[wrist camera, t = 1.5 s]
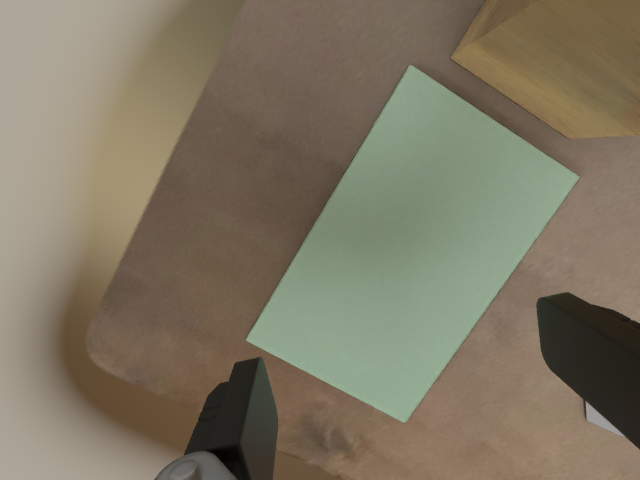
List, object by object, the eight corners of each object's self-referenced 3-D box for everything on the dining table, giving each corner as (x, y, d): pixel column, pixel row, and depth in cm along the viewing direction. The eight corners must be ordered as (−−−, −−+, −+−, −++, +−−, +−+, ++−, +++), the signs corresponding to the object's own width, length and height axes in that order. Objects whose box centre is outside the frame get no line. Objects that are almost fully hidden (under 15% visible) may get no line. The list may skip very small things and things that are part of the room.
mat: (403, 418, 32) (405, 423, 31) (246, 336, 30) (245, 340, 29) (574, 176, 28) (580, 176, 28) (408, 65, 26) (410, 63, 26)
